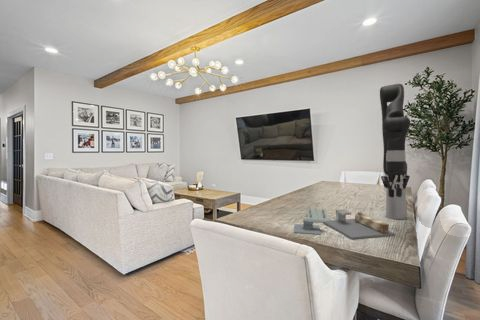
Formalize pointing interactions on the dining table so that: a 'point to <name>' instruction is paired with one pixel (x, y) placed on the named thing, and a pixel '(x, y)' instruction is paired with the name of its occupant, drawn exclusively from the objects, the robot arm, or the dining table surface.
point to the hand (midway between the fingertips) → (395, 196)
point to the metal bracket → (317, 214)
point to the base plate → (356, 229)
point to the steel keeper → (341, 215)
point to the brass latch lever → (372, 223)
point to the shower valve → (308, 227)
